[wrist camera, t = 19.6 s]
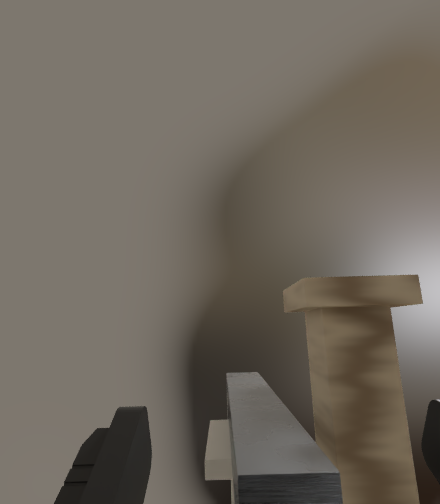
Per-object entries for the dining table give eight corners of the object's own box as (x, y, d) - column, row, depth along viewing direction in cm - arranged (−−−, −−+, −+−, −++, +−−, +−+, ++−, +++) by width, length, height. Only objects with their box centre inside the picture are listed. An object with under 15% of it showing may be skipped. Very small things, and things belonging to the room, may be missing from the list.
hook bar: (260, 429, 30) (257, 372, 31) (361, 692, 8) (339, 472, 9) (228, 430, 30) (226, 373, 31) (245, 695, 8) (237, 475, 9)
